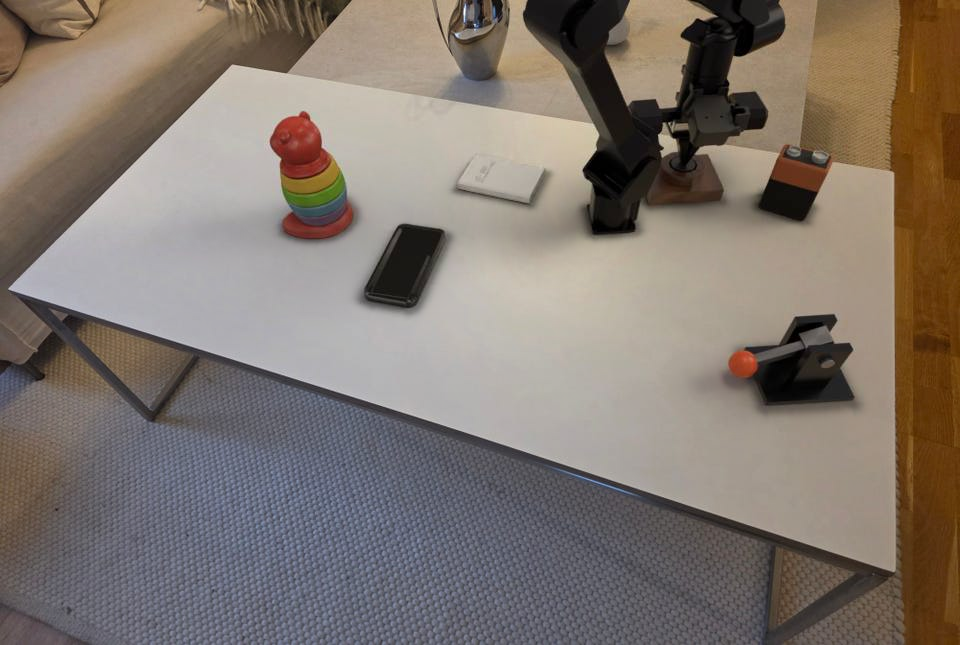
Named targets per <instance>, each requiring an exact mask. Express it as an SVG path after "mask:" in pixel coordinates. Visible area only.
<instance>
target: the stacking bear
mask: <svg viewBox="0 0 960 645" xmlns="http://www.w3.org/2000/svg"><path fill="white" fill-rule="evenodd" d="M322 145H323V139H322V134H321V131H320V129H319V127H318V126H317V125H316V124H315V123H314V122H313V121H312V120H311V116H310V114H309V113H308V112H307V111H305V110H302V111H300V112H299V114H298V115H291V116H287V117H285V118H283V119H281V121H280V122H279V123H278V124H276V126H275V128H274V130H273V132H272V134H271V136H270V138H269V146H270V148H271V150H272V151H273V153H274V154H275V155H276V156H277V157H278V158H280V161H279V177H280V187H281V191H282V195H283V197H284V199H285V201H286V203H287V205H288V206H289V208H290V209H291V212H289V213H287V215H286V216H285V217H284V218H283V219H282V223H281V224H282V229H283V231H284V232H285V233H286V234H289V235H291V236H293V237H296V238H302V239H323V238H324V239H325V238H328V237H329V238H330V237H333V236H335V235H338V234H340V233H341V232H343V231H345V230H346V229H347V228H348V227H349V226H350V224H351V223H352V221H353V218H354V209H353V207H352V205H351V203H350V202H349V201H348V190H347V182H346V178H345V177H344V176H345V175H344V174H343V172H342V169H341V168H340V166H339V165H338V162H337V161H336V159H335V157H333V155H332V154H331V153H330V152H329V151H327V150H326V149H325V148H324V147H323V146H322Z"/></svg>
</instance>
